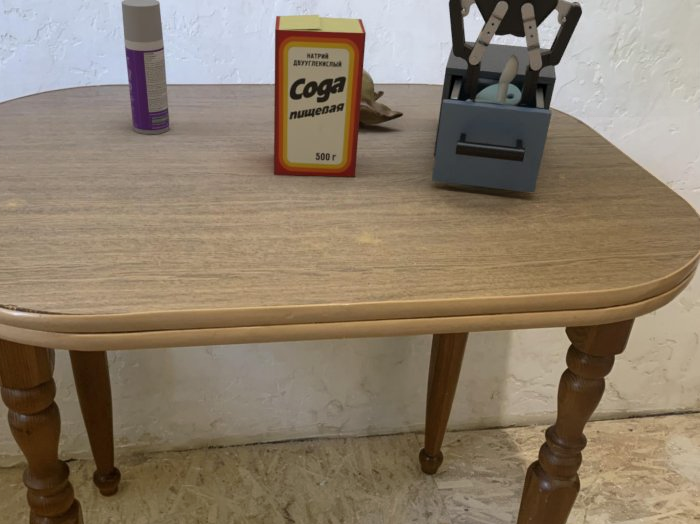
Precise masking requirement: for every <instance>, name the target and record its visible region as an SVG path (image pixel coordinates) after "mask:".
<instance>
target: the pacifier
mask: <svg viewBox="0 0 700 524" xmlns="http://www.w3.org/2000/svg"><path fill="white" fill-rule="evenodd" d="M518 69H519V61H518V59H517V57H516V56H515V55H513V54H512V55H511V57H510V58H509V60H508V62H507V64H506V66H505V68H504V70H503V72H502V74H501V77H500V80H499V83H498V84H494V85H491V86H489V87H487V88H485V89H484V90H482V91H481V92H480V93H478V94H477V95H476V99H475V100H469V99H468V100H466V101H467V102H477V103H487V104H496V105H506V106H517V105H518V104H519V102H520V99H521V92H520V90H519V89H518V88H517V87H516V86H514V85H513V84H509V83H510V82H511V81H512V80H513V79H514V78H515V76H516V74H517V72H518ZM509 96H512V97H514V98H512V99H508V98H507V97H509Z"/></svg>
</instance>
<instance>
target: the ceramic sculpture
mask: <svg viewBox="0 0 700 524" xmlns="http://www.w3.org/2000/svg"><path fill="white" fill-rule="evenodd" d="M384 94H385V92H384V91H382V90H378V91H375V83H374V80H373V77H372V76H371V75H370V73H369V72H368V71H367V70H366V69H365V68H363V77H362V90H361V103H360V117H359V122H361V123H363V124H369V125H378V124H382V123H387V122H390V121H393V120H395V119H399V118H401V117H403V116H404V113H403V112H400V111H395V110H392V109H391V108H390V107H389V106H387V105H386V104H384V103H380V102H377V100H379V99H381V97H383V96H384Z"/></svg>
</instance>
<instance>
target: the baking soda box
mask: <svg viewBox="0 0 700 524" xmlns="http://www.w3.org/2000/svg"><path fill="white" fill-rule="evenodd" d="M366 36H367V32H366V29H365V26H364V23H363V20H362V18H347V17H326V16H323V17H322V16H320V14H301V15H300V14H297V15H276V16H275V26H274V110H273V114H274V115H273V116H274V117H273V118H274V121H273V123H274V124H273V132H274V133H273V175H274V176H275V175H280V176H282V175H283V176H313V177H342V178H343V177H346V178H347V177H348V178H355V177H356V169H357V155H358V142H359V128H360V121H359V117H360V103H361V90H362V77H363V69H364V61H365V50H366V49H365V48H366Z"/></svg>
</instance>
